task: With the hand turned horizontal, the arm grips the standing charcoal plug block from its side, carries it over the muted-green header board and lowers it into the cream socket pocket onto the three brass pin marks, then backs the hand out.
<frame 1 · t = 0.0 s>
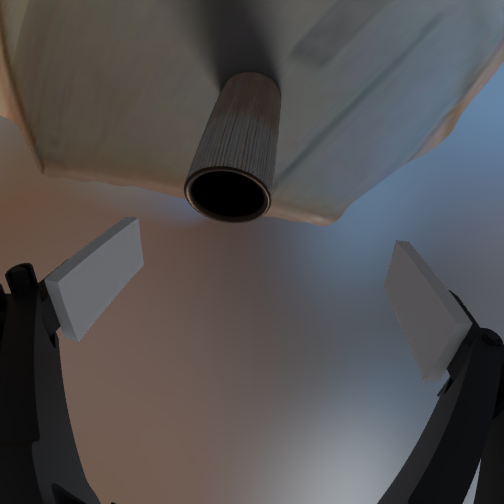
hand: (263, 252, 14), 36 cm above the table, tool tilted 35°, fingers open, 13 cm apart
planter: (251, 95, 43), on the table
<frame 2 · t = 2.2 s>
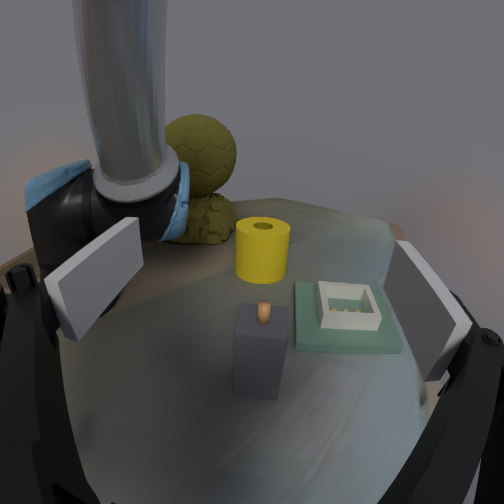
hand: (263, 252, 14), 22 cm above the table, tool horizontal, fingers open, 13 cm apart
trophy: (194, 229, 76), on the table
plug: (256, 382, 32), on the table
yellow hollow cylinder: (260, 271, 57), on the table
header board: (343, 318, 44), on the table
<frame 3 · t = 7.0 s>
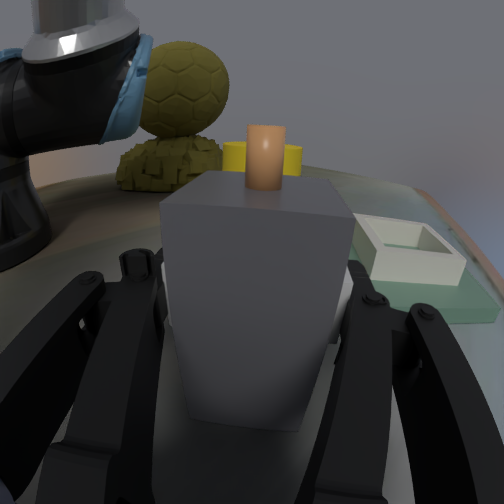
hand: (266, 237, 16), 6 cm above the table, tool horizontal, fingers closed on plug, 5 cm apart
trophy: (175, 181, 57), on the table
plug: (249, 387, 14), on the table, touching gripper
yellow hollow cylinder: (258, 216, 39), on the table
header board: (396, 272, 25), on the table
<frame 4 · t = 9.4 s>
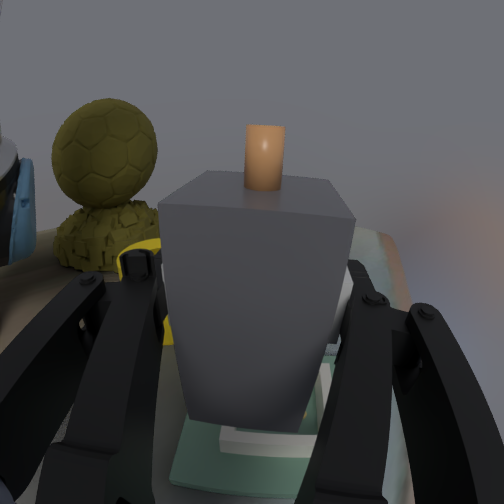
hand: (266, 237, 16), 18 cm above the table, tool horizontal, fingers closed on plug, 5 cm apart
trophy: (112, 248, 54), on the table
plug: (249, 388, 13), point 12 cm above the table, touching gripper
yellow hollow cylinder: (166, 320, 36), on the table
header board: (276, 422, 23), on the table
when the fingers open (9 cm above the table, at t = 12.1 s): plug drops 1 cm, resting on header board.
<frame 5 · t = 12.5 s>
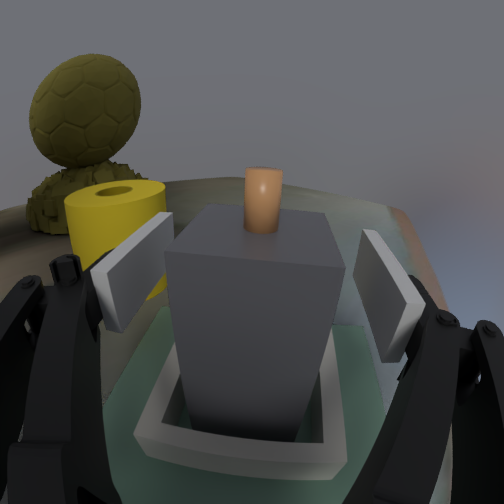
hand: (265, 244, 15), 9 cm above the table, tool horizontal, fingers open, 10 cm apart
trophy: (90, 215, 47), on the table
plug: (248, 403, 14), point 2 cm above the table, touching header board
yellow hollow cylinder: (126, 280, 28), on the table
header board: (247, 418, 15), on the table
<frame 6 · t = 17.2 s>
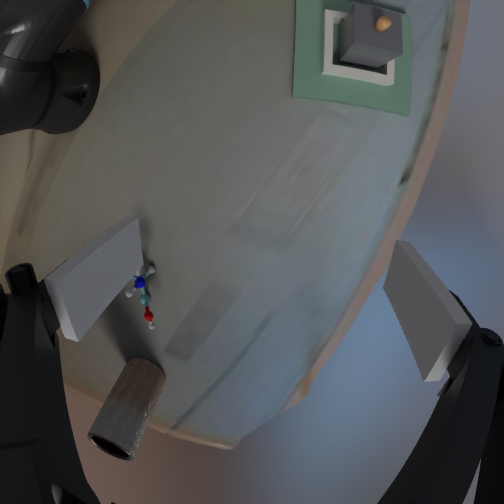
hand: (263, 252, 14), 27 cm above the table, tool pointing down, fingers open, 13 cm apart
molecular model: (147, 274, 48), on the table
planter: (146, 370, 60), on the table
plug: (356, 49, 28), point 2 cm above the table, touching header board
header board: (353, 51, 29), on the table
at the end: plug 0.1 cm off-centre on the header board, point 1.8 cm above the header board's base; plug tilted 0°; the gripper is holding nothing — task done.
